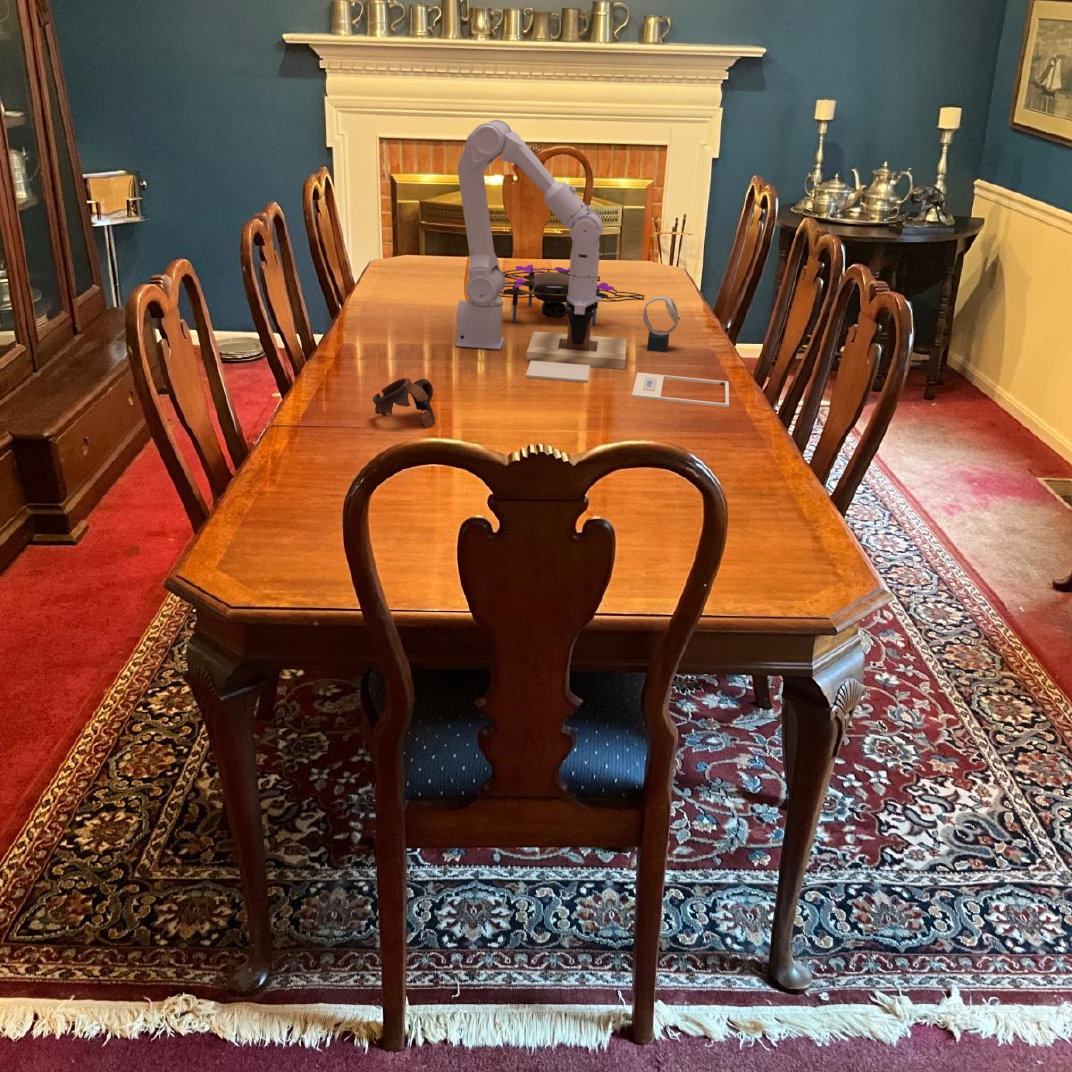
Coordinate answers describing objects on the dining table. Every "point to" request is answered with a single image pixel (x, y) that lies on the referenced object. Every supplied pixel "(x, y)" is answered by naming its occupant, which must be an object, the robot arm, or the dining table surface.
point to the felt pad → (558, 371)
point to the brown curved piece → (406, 398)
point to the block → (577, 346)
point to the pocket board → (577, 351)
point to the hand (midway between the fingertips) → (578, 340)
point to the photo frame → (652, 388)
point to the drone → (552, 291)
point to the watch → (660, 338)
